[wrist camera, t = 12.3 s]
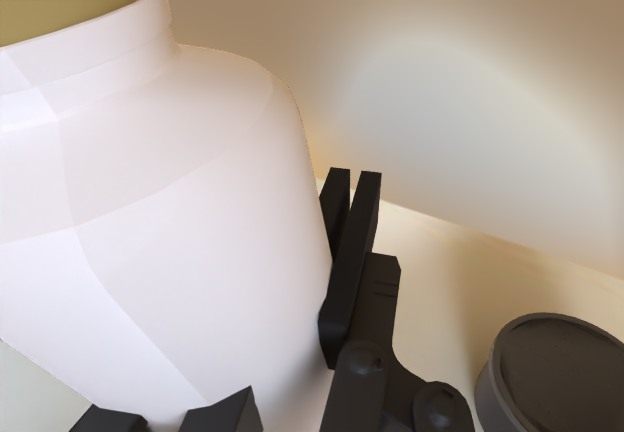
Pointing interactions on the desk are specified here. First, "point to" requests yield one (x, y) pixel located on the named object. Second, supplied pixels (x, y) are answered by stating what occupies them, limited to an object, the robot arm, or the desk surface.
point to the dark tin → (552, 377)
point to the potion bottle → (156, 217)
